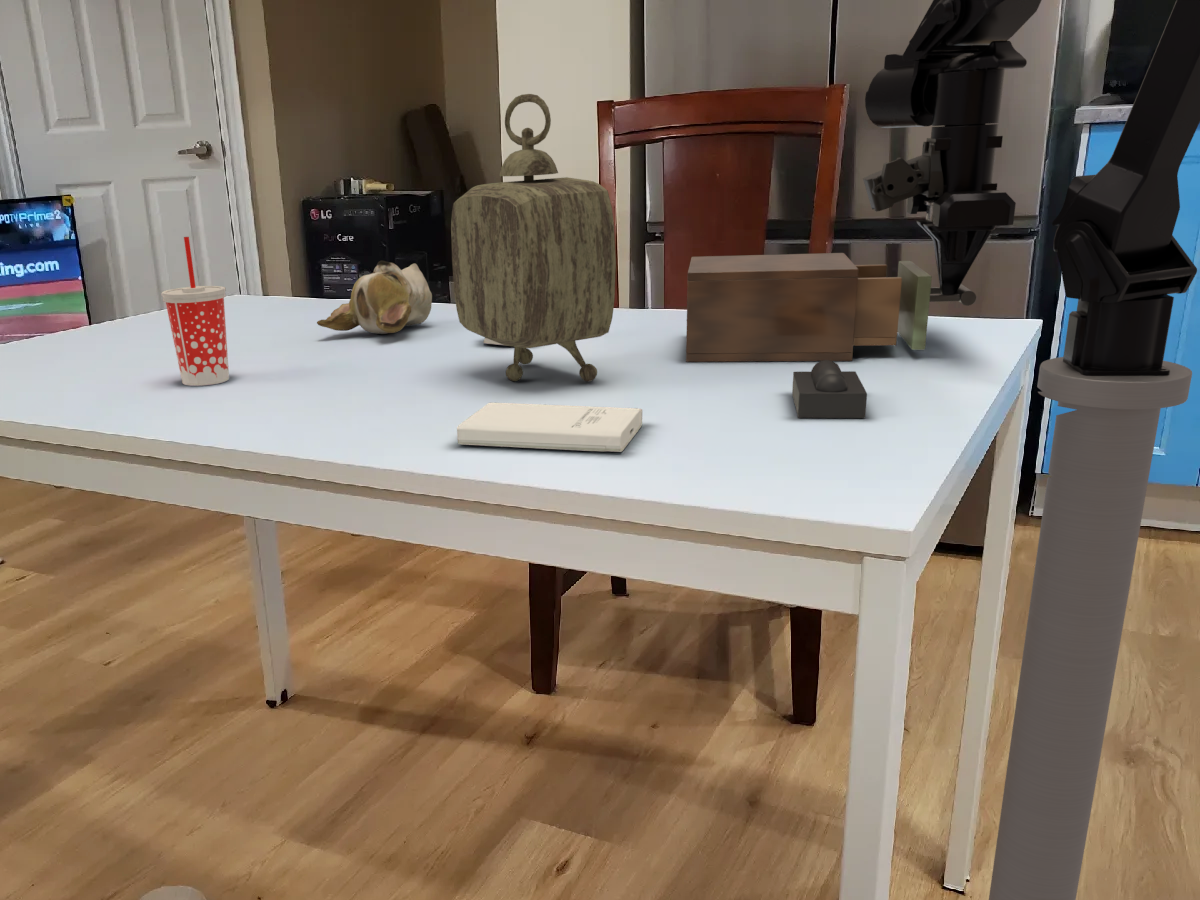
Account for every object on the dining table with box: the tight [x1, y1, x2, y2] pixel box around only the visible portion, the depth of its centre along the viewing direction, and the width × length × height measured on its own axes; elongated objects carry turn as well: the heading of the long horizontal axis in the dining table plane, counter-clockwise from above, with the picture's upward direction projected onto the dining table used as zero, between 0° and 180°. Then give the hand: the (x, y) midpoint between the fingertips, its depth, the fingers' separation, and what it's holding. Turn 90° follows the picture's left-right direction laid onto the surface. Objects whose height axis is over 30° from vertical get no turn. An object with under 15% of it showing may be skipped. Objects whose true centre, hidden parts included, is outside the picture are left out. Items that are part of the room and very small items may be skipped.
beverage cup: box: [160, 236, 230, 387], centre depth 107 cm, size 6×6×14 cm
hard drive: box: [456, 402, 643, 453], centre depth 83 cm, size 2×8×12 cm
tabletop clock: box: [450, 93, 617, 382], centre depth 100 cm, size 14×9×25 cm, turn 31°
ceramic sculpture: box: [316, 260, 433, 335], centre depth 131 cm, size 11×9×15 cm
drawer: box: [853, 260, 977, 351], centre depth 109 cm, size 19×12×7 cm, turn 78°
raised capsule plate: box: [791, 360, 868, 419], centre depth 88 cm, size 8×5×3 cm, turn 168°
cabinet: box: [685, 252, 859, 363], centre depth 111 cm, size 16×14×9 cm
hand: (947, 296), depth 107 cm, fingers closed, pressing on drawer
